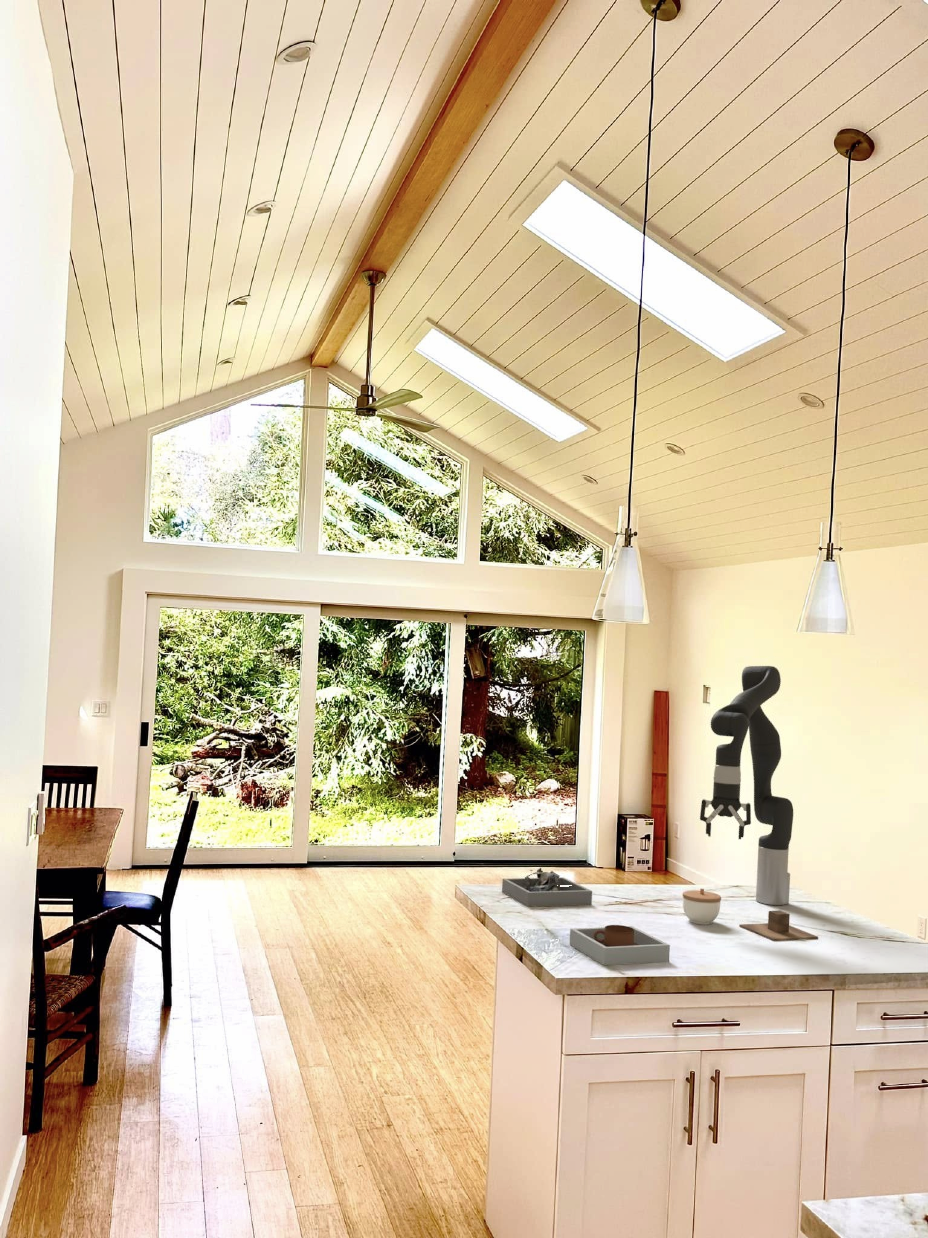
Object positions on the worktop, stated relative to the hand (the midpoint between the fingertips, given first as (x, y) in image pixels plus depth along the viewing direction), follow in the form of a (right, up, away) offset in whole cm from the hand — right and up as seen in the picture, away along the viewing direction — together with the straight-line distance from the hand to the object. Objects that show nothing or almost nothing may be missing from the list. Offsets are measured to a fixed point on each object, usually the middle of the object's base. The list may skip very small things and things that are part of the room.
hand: (724, 837), depth 301 cm
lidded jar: (-8, -24, -3) cm, 25 cm away
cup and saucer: (-37, -20, -41) cm, 59 cm away
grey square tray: (-37, -20, -41) cm, 59 cm away
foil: (-51, -22, +16) cm, 58 cm away
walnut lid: (+12, -25, -11) cm, 30 cm away
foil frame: (-50, -22, +16) cm, 57 cm away
